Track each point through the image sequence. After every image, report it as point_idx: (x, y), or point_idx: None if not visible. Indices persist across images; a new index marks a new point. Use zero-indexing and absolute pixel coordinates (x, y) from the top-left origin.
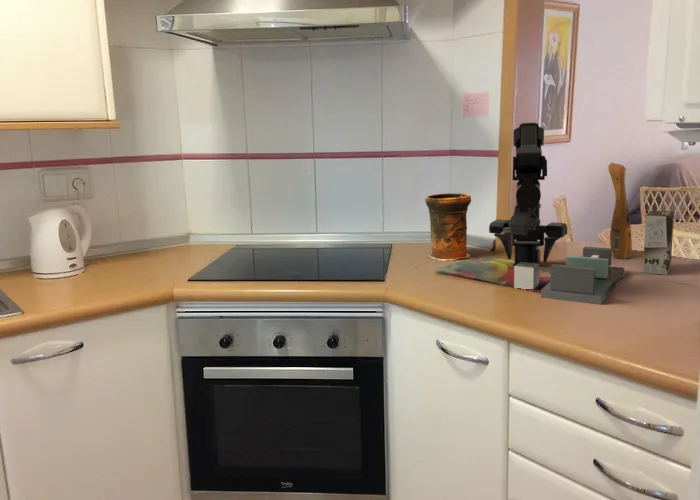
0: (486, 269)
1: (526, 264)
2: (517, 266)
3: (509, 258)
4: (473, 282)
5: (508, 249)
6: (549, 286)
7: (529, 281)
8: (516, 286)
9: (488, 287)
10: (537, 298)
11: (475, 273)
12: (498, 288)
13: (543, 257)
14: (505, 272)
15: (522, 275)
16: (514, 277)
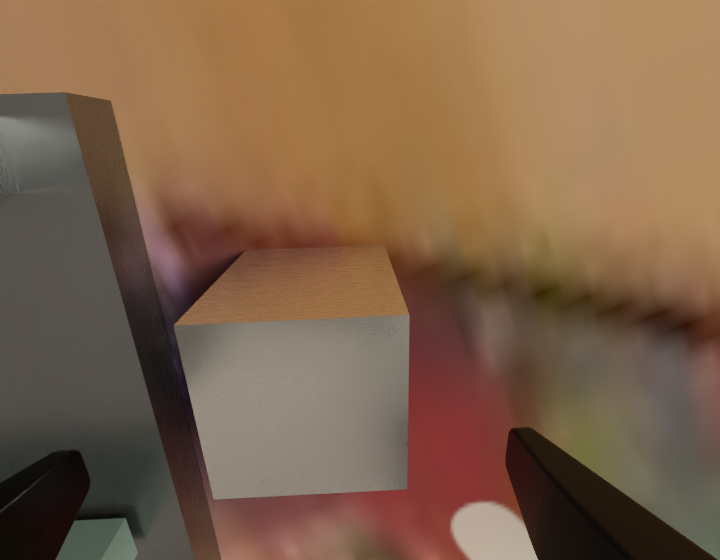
0: None
1: (311, 423)
2: (370, 316)
3: (519, 434)
4: (689, 252)
5: (616, 544)
6: (61, 216)
7: (258, 267)
8: (367, 249)
9: (560, 177)
10: (116, 51)
11: (701, 437)
12: (483, 185)
13: (12, 500)
14: None
15: (315, 280)
16: (389, 268)
